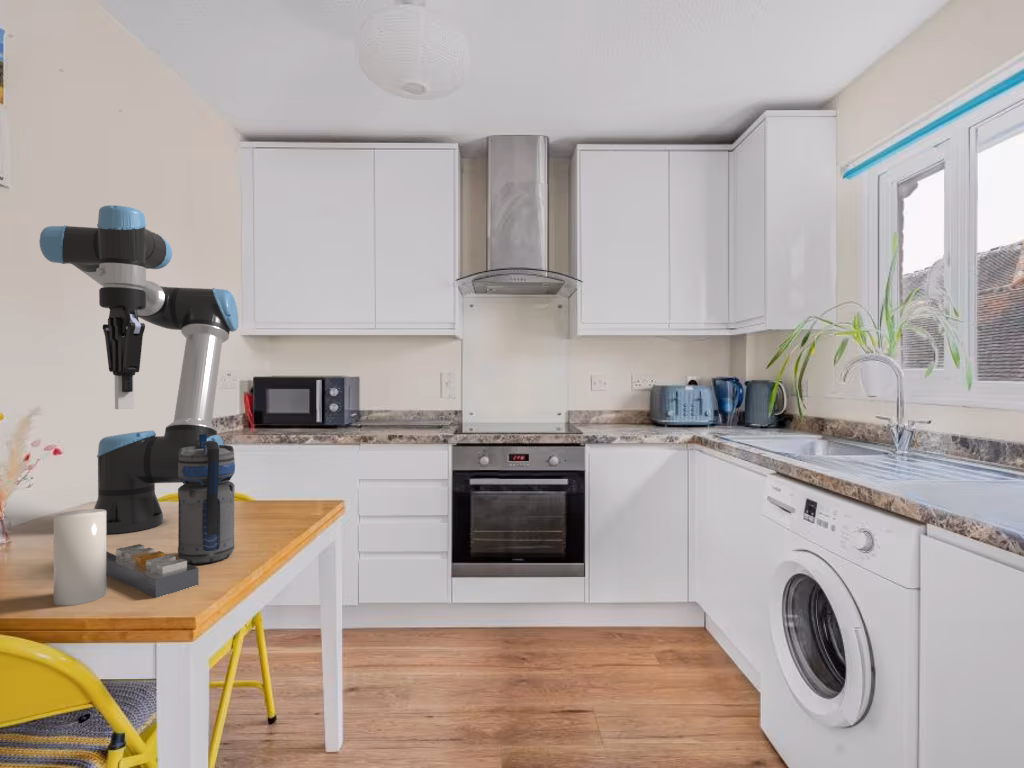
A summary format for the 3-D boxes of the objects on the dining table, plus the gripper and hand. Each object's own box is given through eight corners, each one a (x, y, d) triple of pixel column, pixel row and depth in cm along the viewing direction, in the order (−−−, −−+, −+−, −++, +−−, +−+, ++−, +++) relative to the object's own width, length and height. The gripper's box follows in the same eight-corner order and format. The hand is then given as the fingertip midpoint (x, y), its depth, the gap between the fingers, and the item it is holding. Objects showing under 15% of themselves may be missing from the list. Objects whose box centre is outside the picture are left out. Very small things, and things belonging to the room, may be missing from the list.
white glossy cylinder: (47, 599, 93) (47, 514, 93) (97, 586, 99) (97, 507, 99) (61, 609, 89) (61, 521, 89) (113, 595, 95) (113, 512, 95)
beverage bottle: (183, 573, 106) (184, 440, 106) (174, 555, 117) (174, 435, 117) (242, 562, 113) (242, 437, 112) (227, 547, 123) (228, 432, 123)
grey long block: (104, 576, 105) (104, 550, 105) (145, 566, 111) (145, 541, 111) (155, 600, 94) (155, 570, 94) (198, 587, 100) (198, 559, 100)
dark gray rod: (96, 555, 117) (96, 549, 117) (103, 553, 118) (103, 548, 118) (117, 566, 110) (117, 559, 110) (124, 564, 111) (124, 558, 111)
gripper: (86, 288, 111) (88, 408, 112) (115, 283, 103) (117, 411, 104) (129, 292, 117) (131, 406, 118) (159, 288, 110) (160, 409, 110)
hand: (124, 408), depth 111 cm, fingers closed
